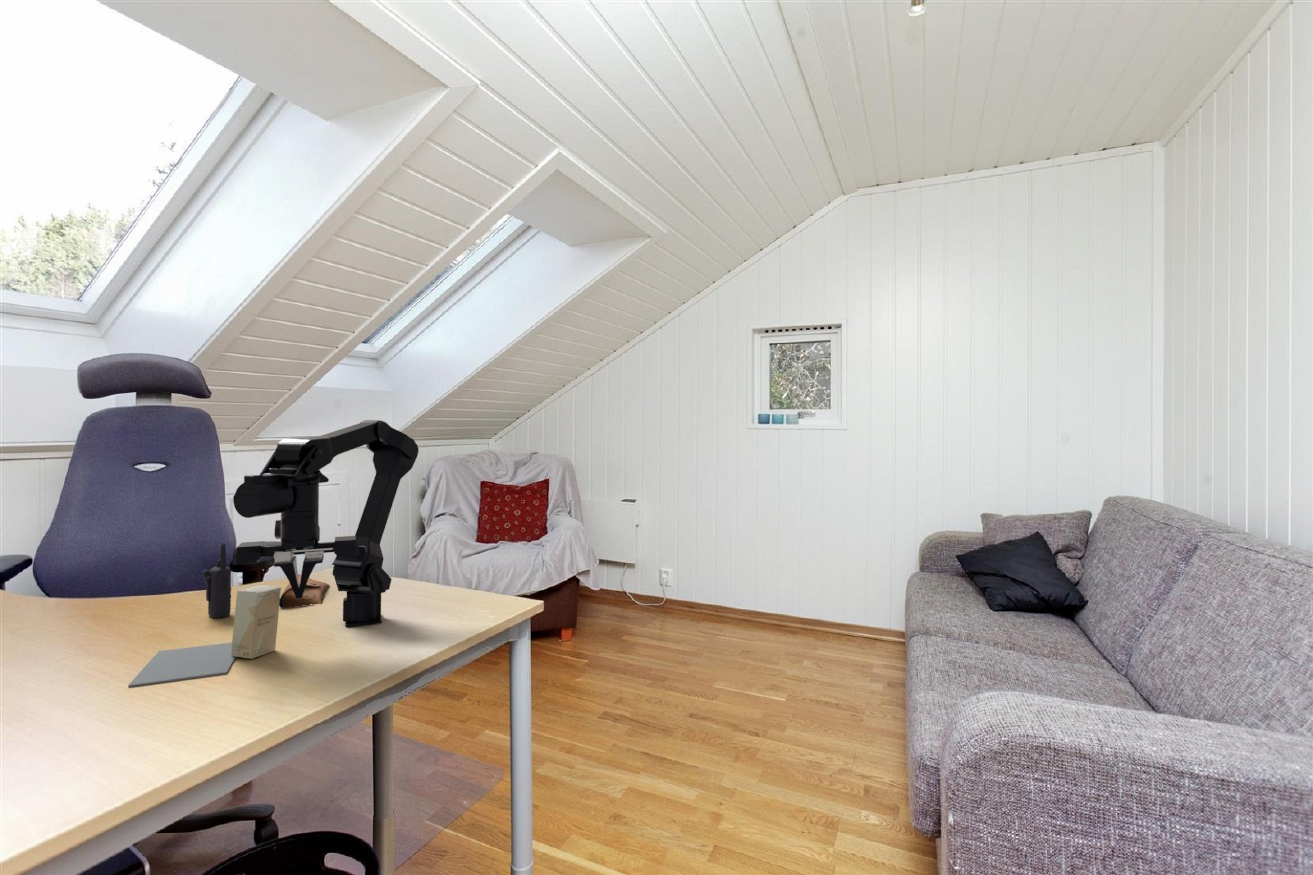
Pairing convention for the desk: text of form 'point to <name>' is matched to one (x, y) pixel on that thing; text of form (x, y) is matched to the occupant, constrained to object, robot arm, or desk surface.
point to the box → (255, 621)
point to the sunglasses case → (304, 594)
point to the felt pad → (186, 664)
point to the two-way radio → (218, 587)
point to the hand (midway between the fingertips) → (299, 597)
